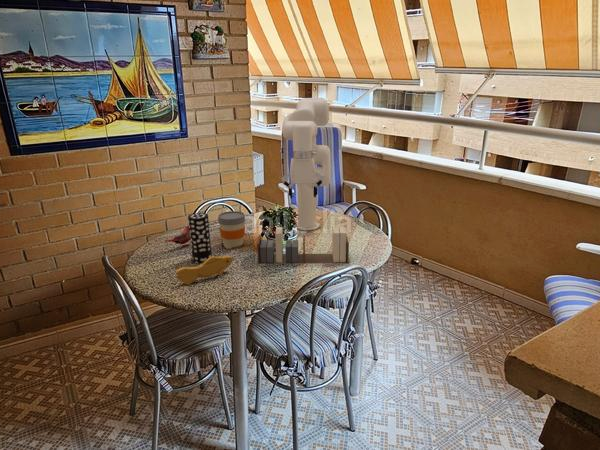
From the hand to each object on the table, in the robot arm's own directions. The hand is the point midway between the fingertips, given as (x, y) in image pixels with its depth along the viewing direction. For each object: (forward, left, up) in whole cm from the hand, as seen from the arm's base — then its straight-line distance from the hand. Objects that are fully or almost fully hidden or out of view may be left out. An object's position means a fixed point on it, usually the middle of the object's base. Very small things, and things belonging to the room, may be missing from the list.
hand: (303, 196), depth 167 cm
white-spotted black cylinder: (0, -44, -28) cm, 52 cm away
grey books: (+2, -10, -27) cm, 29 cm away
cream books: (+2, +15, -27) cm, 31 cm away
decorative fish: (+19, -38, -28) cm, 51 cm away
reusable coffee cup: (-16, -33, -28) cm, 46 cm away
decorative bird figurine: (-14, -57, -28) cm, 65 cm away
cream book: (+2, -10, -27) cm, 29 cm away
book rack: (+2, 0, -28) cm, 28 cm away
